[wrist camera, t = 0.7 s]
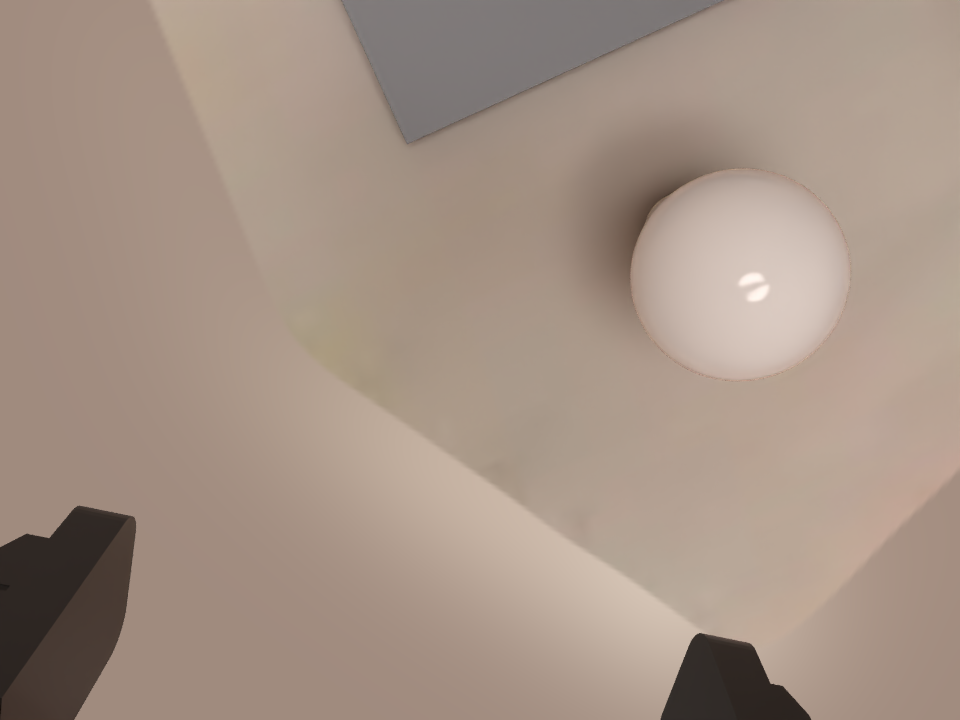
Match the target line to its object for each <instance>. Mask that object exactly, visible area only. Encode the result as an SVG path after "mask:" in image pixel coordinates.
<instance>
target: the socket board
mask: <svg viewBox="0 0 960 720" xmlns="http://www.w3.org/2000/svg"><path fill="white" fill-rule="evenodd" d="M721 1H723V0H342V2H343V5H344V7H345V9H346V11H347V13H348V16H349V18H350V20H351V22H352V24H353V26H354V29H355V31H356V33H357V35H358V37H359V40H360V42H361V44H362V46H363V48H364V51H365V53H366V55H367V57H368V59H369V62H370V64H371V66H372V68H373V70H374V73H375V75H376V77H377V79H378V81H379V84H380V86H381V88H382V90H383V92H384V95H385V97H386V99H387V101H388V103H389V105H390V108H391V110H392V112H393V114H394V116H395V119H396V121H397V123H398V125H399V127H400V130H401V132H402V134H403V136H404V138H405V141H406V143H407V144H408V143H411V142H413V141H415V140H417V139H419V138H422V137H424V136H426V135H428V134H430V133H433V132H435V131H437V130H439V129H441V128H444V127H446V126H448V125H450V124H452V123H455V122H457V121H459V120H461V119H463V118H466V117H468V116H470V115H472V114H474V113H477V112H479V111H481V110H483V109H485V108H488V107H490V106H492V105H494V104H496V103H499V102H501V101H503V100H505V99H507V98H510V97H512V96H514V95H516V94H518V93H521V92H523V91H525V90H527V89H529V88H532V87H534V86H536V85H538V84H540V83H543V82H545V81H547V80H549V79H551V78H554V77H556V76H558V75H560V74H562V73H565V72H567V71H569V70H571V69H573V68H576V67H578V66H580V65H582V64H584V63H587V62H589V61H591V60H593V59H595V58H598V57H600V56H602V55H604V54H606V53H609V52H611V51H613V50H615V49H617V48H620V47H622V46H624V45H626V44H628V43H631V42H633V41H635V40H637V39H639V38H642V37H644V36H646V35H648V34H650V33H653V32H655V31H657V30H659V29H661V28H664V27H666V26H668V25H670V24H672V23H675V22H677V21H679V20H681V19H683V18H686V17H688V16H690V15H692V14H694V13H697V12H699V11H701V10H703V9H705V8H708V7H710V6H712V5H714V4H716V3H719V2H721Z"/></svg>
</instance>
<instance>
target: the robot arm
mask: <svg viewBox="0 0 960 720" xmlns="http://www.w3.org/2000/svg"><path fill="white" fill-rule="evenodd" d="M135 533H136V521H135V518H134V517H133V516H128V515H123V514H118V513H113V512H108V511H103V510H98V509H94V508H89V507H83V506H77V507H76V508H74V509H73V510H72V512H71V513H70V514H69V515H68V517H67V518H66V519H65V520H64V521H63V522H62V524H61V525H60V526H59V527H58V528H57V530H56V531H55V532H54V534H53V535H52V536H51V537H50V538H45V537H40V536H35V535H29V534H25V535H23V536H22V537H19V538H18V539H15V540H14V541H12V542H10V543H8V544H6V545H4V546H2V547H0V720H74V719H75V717H76V716H77V714H78V712H79V710H80V709H81V707H82V705H83V704H84V702H85V700H86V698H87V697H88V695H89V693H90V691H91V689H92V688H93V686H94V684H95V683H96V681H97V679H98V677H99V676H100V674H101V672H102V670H103V669H104V667H105V665H106V664H107V662H108V660H109V658H110V657H111V655H112V653H113V650H114V648H115V646H116V643H117V641H118V638H119V635H120V632H121V629H122V625H123V622H124V617H125V613H126V606H127V597H128V590H129V582H130V573H131V566H132V557H133V549H134V541H135ZM661 720H811V718H810V716H809V715H808V714H807V712H806V711H805V710H804V709H803V708H802V707H801V706H800V705H799V704H798V703H797V702H796V700H795V699H794V698H793V697H792V696H791V695H790V694H789V693H788V692H787V691H786V689H785V688H784V687H783V686H780V685H774V684H770V682H769V679H768V677H767V675H766V673H765V670H764V668H763V666H762V664H761V661H760V659H759V657H758V655H757V653H756V650H755V648H754V647H753V646H752V645H751V644H750V643H746V642H742V641H737V640H732V639H727V638H722V637H717V636H712V635H707V634H702V633H699V634H697V635H696V636H695V637H694V638H693V639H692V641H691V643H690V645H689V647H688V650H687V652H686V655H685V657H684V660H683V663H682V665H681V667H680V670H679V672H678V675H677V678H676V680H675V683H674V685H673V688H672V690H671V693H670V695H669V698H668V701H667V703H666V706H665V708H664V711H663V713H662V716H661Z"/></svg>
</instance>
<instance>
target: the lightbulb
mask: <svg viewBox="0 0 960 720" xmlns="http://www.w3.org/2000/svg"><path fill="white" fill-rule="evenodd" d="M850 281H851V262H850V255H849V250H848V246H847V242H846V239H845V236H844V234H843V231H842V229H841V227H840V225H839V223H838V222H837V220H836V218H835V217H834V215H833V214H832V212H831V211H830V210H829V208H828V207H827V206H826V205H825V204H824V203H823V202H822V201H821V200H820V199H819V198H818V197H817V196H816V195H815V194H814V193H813V192H811V191H810V190H809V189H807V188H806V187H804V186H803V185H801V184H800V183H798V182H796V181H794V180H792V179H790V178H788V177H785V176H783V175H780V174H777V173H774V172H770V171H765V170H759V169H749V168H738V169H727V170H721V171H717V172H713V173H709V174H706V175H703V176H701V177H698V178H696V179H694V180H692V181H690V182H688V183H686V184H685V185H683V186H681V187H680V188H678V189H677V190H675V191H674V192H673V193H672V194H670V195H668V196H666V197H664V198H662V199H661V200H660V201H658V202H657V203H656V204H655V205H654V206H653V208H652V209H651V211H650V212H649V214H648V216H647V219H646V223H645V225H644V227H643V229H642V230H641V233H640V235H639V237H638V239H637V242H636V245H635V248H634V252H633V256H632V262H631V270H630V284H631V293H632V299H633V303H634V307H635V310H636V313H637V315H638V318H639V320H640V322H641V324H642V326H643V328H644V329H645V331H646V333H647V334H648V336H649V337H650V338H651V340H652V341H653V342H654V343H655V345H656V346H657V347H658V348H659V349H660V350H661V351H662V352H663V353H664V354H665V355H667V356H668V357H669V358H670V359H672V360H673V361H674V362H676V363H677V364H679V365H681V366H682V367H684V368H686V369H688V370H690V371H692V372H694V373H697V374H699V375H702V376H706V377H709V378H713V379H719V380H725V381H751V380H758V379H763V378H767V377H771V376H774V375H777V374H779V373H782V372H784V371H786V370H788V369H790V368H792V367H794V366H796V365H798V364H799V363H801V362H802V361H804V360H805V359H807V358H808V357H809V356H810V355H812V354H813V353H814V352H815V351H816V350H817V349H818V348H819V347H820V346H821V345H822V344H823V343H824V342H825V341H826V339H827V338H828V337H829V335H830V334H831V333H832V331H833V330H834V328H835V327H836V325H837V323H838V321H839V319H840V317H841V315H842V313H843V310H844V308H845V305H846V302H847V298H848V294H849V289H850Z"/></svg>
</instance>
